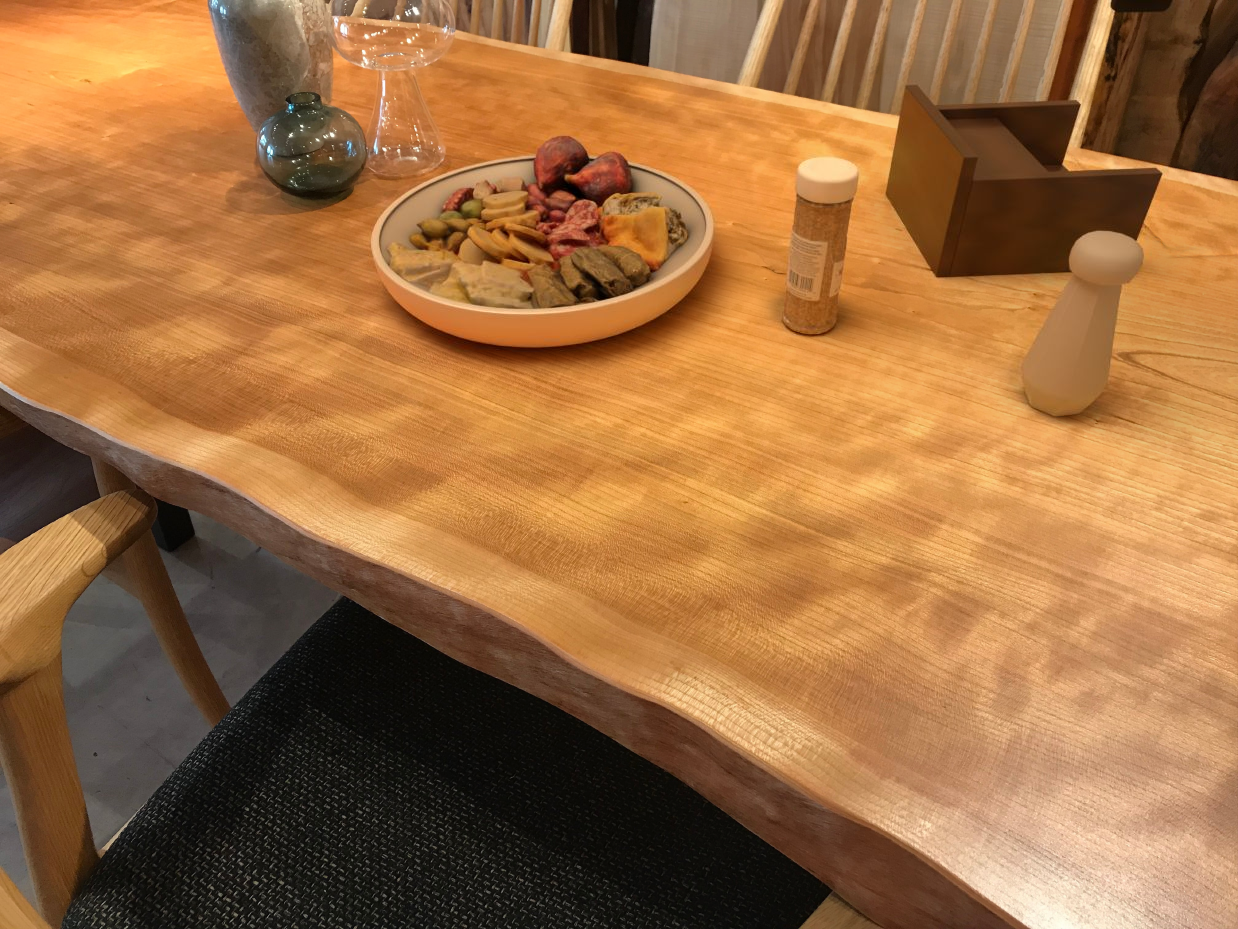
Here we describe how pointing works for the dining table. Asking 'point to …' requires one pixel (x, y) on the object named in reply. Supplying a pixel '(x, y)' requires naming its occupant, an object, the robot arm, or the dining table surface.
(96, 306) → the dining table surface
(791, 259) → the sprinkles bottle
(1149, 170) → the box
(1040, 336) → the salt shaker
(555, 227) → the bowl
